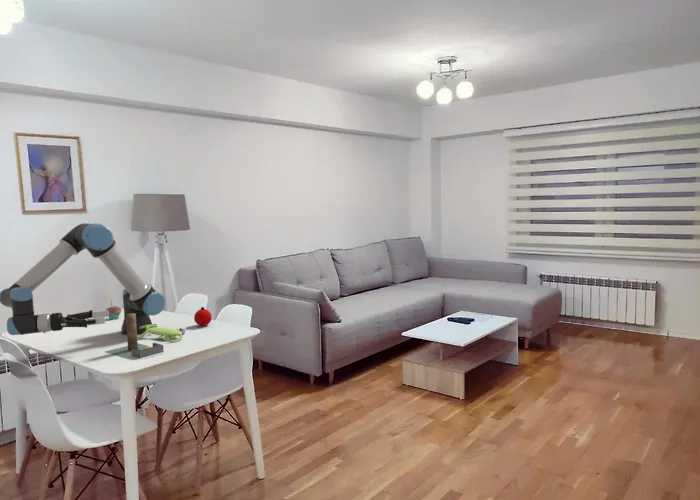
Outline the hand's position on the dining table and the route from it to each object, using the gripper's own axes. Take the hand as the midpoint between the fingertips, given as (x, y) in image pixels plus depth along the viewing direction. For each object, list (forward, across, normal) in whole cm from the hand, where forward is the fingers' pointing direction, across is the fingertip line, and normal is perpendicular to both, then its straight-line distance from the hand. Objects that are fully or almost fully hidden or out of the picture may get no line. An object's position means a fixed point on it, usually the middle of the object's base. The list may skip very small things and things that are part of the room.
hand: (106, 316), depth 220 cm
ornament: (+41, -38, -18) cm, 59 cm away
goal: (+16, +9, -17) cm, 25 cm away
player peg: (+9, 0, -16) cm, 18 cm away
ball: (+16, +9, -15) cm, 24 cm away
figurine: (+19, -22, -18) cm, 34 cm away
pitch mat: (+8, 0, -17) cm, 19 cm away
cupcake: (-7, -77, -18) cm, 79 cm away
